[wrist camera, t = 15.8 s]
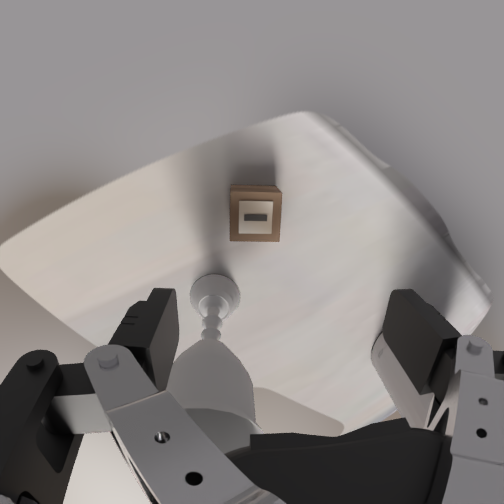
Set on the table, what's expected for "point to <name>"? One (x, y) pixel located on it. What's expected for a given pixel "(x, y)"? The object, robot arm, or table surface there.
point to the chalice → (215, 371)
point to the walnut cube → (255, 213)
